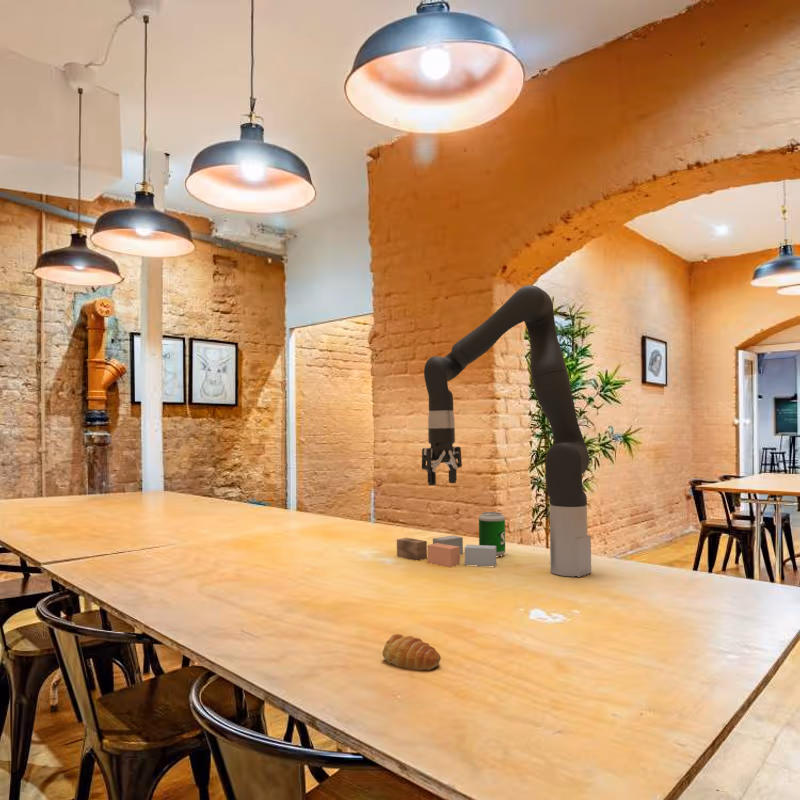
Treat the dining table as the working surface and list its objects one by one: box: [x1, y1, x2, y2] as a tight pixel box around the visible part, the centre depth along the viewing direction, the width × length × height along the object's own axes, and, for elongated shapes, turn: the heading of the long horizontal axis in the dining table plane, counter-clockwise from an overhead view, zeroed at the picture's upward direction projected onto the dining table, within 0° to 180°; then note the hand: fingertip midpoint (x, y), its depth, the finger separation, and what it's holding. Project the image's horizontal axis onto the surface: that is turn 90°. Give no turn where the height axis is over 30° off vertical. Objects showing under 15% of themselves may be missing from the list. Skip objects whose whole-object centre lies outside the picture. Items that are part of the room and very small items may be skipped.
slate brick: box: [432, 534, 464, 555], centre depth 184 cm, size 8×4×5 cm, turn 126°
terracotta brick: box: [427, 543, 461, 568], centre depth 172 cm, size 8×4×5 cm, turn 47°
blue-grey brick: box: [464, 544, 497, 567], centre depth 170 cm, size 8×4×5 cm, turn 75°
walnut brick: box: [396, 537, 428, 561], centre depth 180 cm, size 8×4×5 cm, turn 45°
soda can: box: [478, 511, 506, 557], centre depth 183 cm, size 8×8×12 cm
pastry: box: [382, 633, 442, 671], centre depth 101 cm, size 9×7×4 cm
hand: (442, 484), depth 179 cm, fingers open, 8 cm apart
